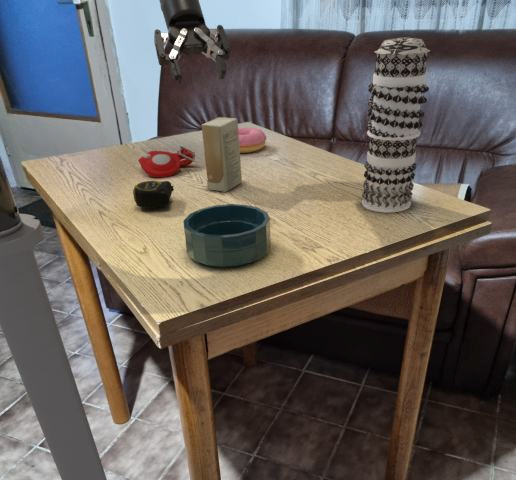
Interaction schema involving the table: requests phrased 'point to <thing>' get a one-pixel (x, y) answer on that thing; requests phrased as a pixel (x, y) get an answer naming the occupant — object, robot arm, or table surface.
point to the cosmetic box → (222, 153)
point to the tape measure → (152, 194)
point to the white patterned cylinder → (394, 123)
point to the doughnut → (251, 139)
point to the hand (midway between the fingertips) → (201, 78)
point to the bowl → (227, 235)
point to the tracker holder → (166, 162)
